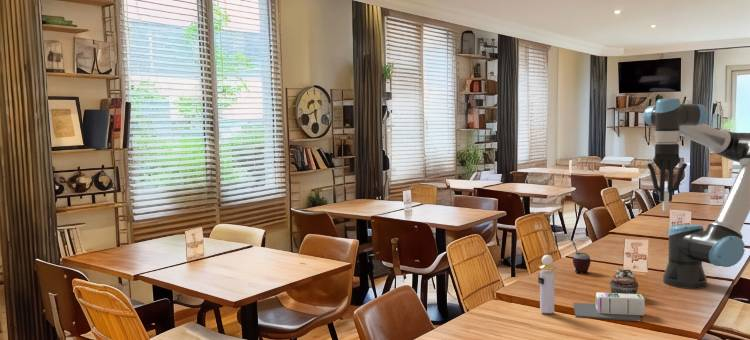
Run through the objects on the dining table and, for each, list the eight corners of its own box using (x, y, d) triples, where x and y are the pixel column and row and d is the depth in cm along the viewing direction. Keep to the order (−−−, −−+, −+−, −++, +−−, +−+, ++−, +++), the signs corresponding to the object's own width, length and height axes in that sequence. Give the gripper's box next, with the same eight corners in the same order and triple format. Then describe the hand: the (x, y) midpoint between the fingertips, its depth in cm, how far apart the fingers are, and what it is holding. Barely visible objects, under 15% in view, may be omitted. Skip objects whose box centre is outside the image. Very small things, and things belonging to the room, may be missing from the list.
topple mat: (634, 308, 203) (634, 306, 203) (641, 321, 190) (641, 319, 190) (573, 304, 209) (573, 302, 209) (575, 317, 195) (575, 315, 195)
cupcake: (605, 293, 220) (606, 267, 219) (632, 293, 220) (632, 267, 219) (615, 301, 211) (615, 274, 210) (642, 301, 210) (643, 273, 210)
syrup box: (645, 298, 193) (597, 295, 196) (644, 316, 193) (597, 313, 196) (641, 293, 198) (595, 291, 202) (640, 311, 199) (595, 308, 202)
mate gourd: (593, 272, 250) (594, 237, 248) (581, 276, 245) (582, 240, 244) (578, 269, 256) (579, 235, 254) (567, 272, 251) (567, 237, 250)
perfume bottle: (552, 310, 203) (552, 252, 201) (558, 315, 197) (559, 256, 195) (535, 310, 202) (535, 253, 201) (541, 316, 196) (542, 257, 195)
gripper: (685, 142, 208) (683, 209, 210) (644, 142, 211) (643, 208, 213) (690, 143, 201) (688, 212, 203) (648, 143, 204) (647, 211, 206)
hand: (665, 210), depth 208 cm, fingers closed
